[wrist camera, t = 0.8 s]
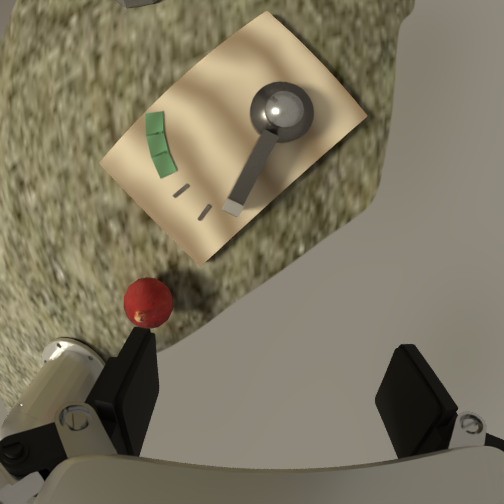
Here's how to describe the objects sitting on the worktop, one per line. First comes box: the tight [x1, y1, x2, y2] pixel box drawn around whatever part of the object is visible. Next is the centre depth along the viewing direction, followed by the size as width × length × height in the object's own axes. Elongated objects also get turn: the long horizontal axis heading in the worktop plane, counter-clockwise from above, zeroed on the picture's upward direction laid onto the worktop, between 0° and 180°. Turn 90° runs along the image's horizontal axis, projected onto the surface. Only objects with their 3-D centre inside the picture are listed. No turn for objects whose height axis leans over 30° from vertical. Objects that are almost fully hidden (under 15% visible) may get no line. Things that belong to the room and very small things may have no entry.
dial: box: [222, 81, 314, 218], centre depth 31 cm, size 15×6×4 cm, turn 153°
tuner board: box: [99, 11, 367, 266], centre depth 33 cm, size 26×17×2 cm, turn 133°
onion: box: [124, 277, 173, 329], centre depth 35 cm, size 6×6×8 cm
